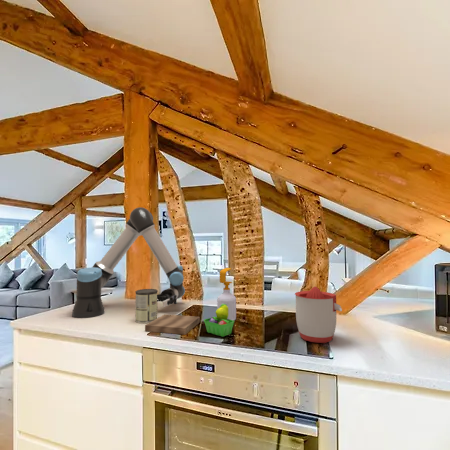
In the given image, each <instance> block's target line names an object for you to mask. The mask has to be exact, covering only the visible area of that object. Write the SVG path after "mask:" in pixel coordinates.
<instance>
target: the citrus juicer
mask: <svg viewBox="0 0 450 450" xmlns="http://www.w3.org/2000/svg"><path fill="white" fill-rule="evenodd" d="M294 295H295V318H296V319H295V321H296V326H297V329H298V333H299V335H300V338H301V339H303V340H304V341H306V342H307V341H308V342H310V343H321V344H326V343H329V342H331V341H333V338H334V336H335V331H336V328H337V327H336V326H337V311H338V312H342V311H343V308H342V306H341V305H340V304H338V303H337V294H335V293H331V292H327V291H321V290H320V289H319V288H318V287H317V286H313V287H311V289H310V290H303V291H302V290H300V291H296V292H295V293H294Z"/></svg>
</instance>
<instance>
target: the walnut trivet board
mask: <svg viewBox="0 0 450 450" xmlns="http://www.w3.org/2000/svg"><path fill="white" fill-rule="evenodd" d="M200 317H201V316H194V315H193V316H192V315H179V314H162V315H160V316H159V317H157V319H155V320H153V321H152V322H150V323H145V324H144V332H150V333H160V332H163V333H162V334H171V333H172V334H173V335H186V334H188V332H190V331H191V330H192V329H194V328H195V327H196V326H198V324H199V323H200V322H201V321H200V320H201V319H200ZM172 334H171V335H172Z"/></svg>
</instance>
